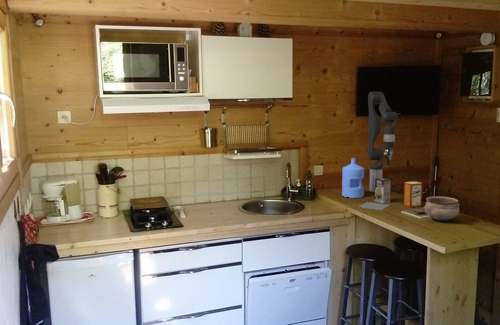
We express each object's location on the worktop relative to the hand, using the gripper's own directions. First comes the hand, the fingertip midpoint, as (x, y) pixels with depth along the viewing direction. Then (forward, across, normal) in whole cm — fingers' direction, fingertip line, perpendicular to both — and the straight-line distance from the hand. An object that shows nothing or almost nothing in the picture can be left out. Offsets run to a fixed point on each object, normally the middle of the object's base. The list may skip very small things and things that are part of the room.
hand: (388, 165), depth 329 cm
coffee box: (+24, +11, 0) cm, 27 cm away
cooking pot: (+24, +38, +45) cm, 64 cm away
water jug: (+24, +5, -24) cm, 35 cm away
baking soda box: (+24, +12, +21) cm, 34 cm away
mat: (+24, +26, 0) cm, 36 cm away
